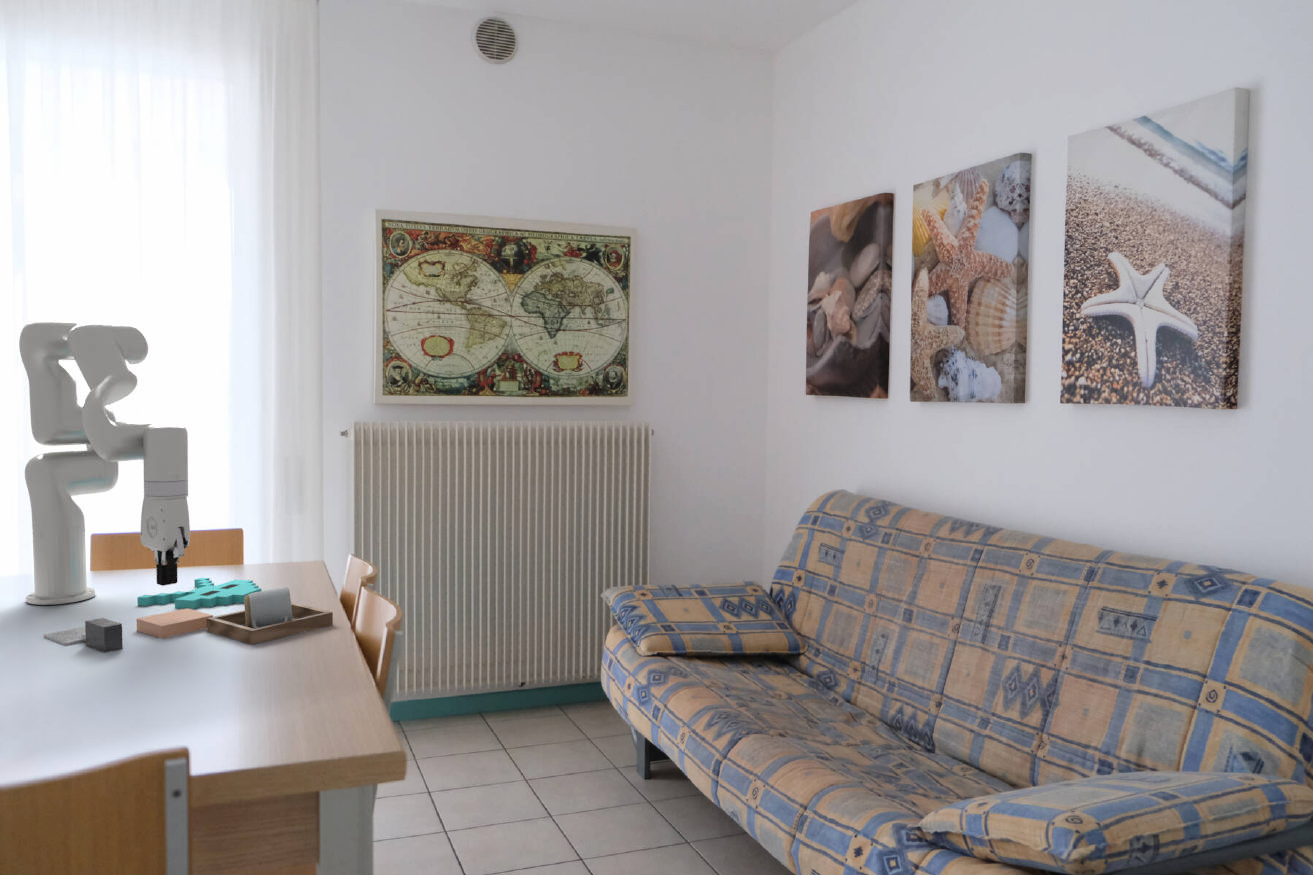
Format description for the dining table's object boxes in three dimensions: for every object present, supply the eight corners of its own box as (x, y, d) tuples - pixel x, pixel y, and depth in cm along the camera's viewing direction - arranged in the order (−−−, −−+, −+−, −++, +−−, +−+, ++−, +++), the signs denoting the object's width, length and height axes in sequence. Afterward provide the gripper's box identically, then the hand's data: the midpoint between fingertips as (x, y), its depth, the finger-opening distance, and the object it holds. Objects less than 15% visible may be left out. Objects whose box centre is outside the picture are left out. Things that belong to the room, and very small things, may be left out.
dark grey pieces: (134, 646, 171) (133, 621, 171) (92, 655, 165) (91, 629, 165) (84, 629, 182) (83, 605, 181) (43, 637, 176) (42, 613, 176)
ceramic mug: (243, 626, 185) (242, 587, 184) (288, 621, 188) (288, 583, 188) (248, 641, 175) (247, 599, 175) (295, 635, 179) (295, 595, 178)
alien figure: (137, 607, 200) (222, 612, 196) (137, 597, 200) (222, 602, 196) (201, 587, 220) (279, 591, 216) (201, 577, 220) (279, 581, 216)
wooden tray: (206, 631, 181) (206, 618, 181) (287, 613, 195) (286, 601, 195) (252, 644, 172) (252, 630, 172) (332, 624, 186) (332, 612, 186)
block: (136, 618, 181) (161, 625, 176) (187, 608, 189) (213, 615, 184) (136, 632, 181) (161, 640, 176) (187, 621, 189) (213, 628, 184)
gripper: (126, 486, 183) (127, 581, 185) (167, 495, 175) (168, 593, 176) (165, 483, 189) (166, 574, 191) (206, 491, 181) (207, 586, 182)
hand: (167, 583), depth 184 cm, fingers closed
